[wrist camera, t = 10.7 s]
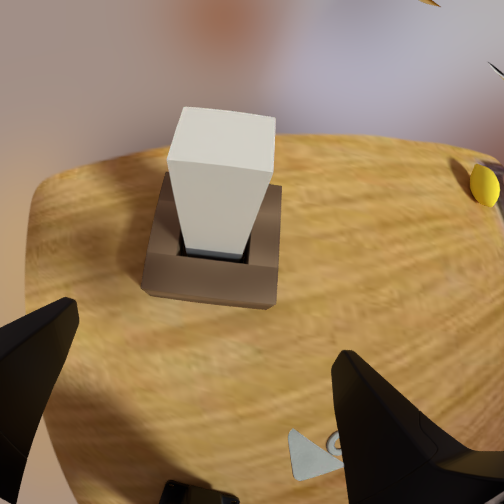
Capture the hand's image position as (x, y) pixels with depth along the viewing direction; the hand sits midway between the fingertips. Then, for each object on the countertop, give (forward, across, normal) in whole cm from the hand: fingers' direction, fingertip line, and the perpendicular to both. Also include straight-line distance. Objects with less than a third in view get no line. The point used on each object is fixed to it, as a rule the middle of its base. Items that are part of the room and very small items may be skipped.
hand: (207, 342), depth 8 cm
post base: (+15, 0, +4) cm, 16 cm away
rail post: (+15, 0, +4) cm, 16 cm away
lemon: (+26, -36, -9) cm, 45 cm away
